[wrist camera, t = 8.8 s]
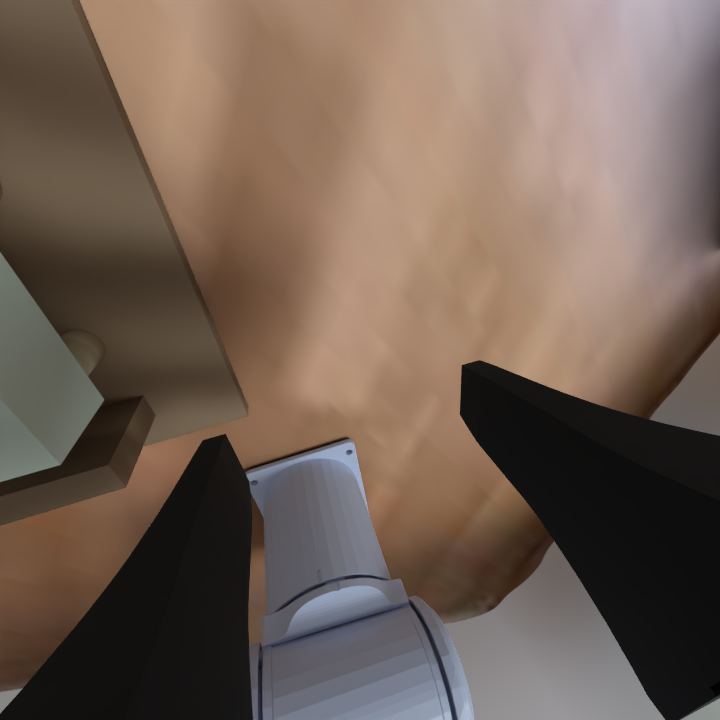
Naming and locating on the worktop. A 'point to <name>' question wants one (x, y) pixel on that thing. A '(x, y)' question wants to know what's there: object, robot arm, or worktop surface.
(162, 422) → the peg base
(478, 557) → the worktop surface
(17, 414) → the pale green block
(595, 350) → the worktop surface
